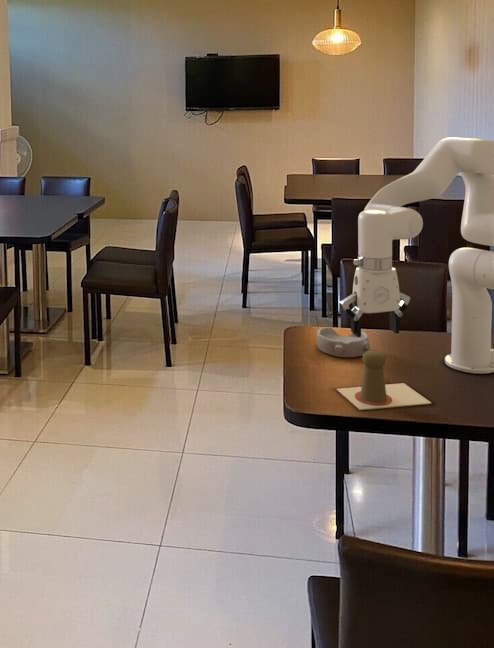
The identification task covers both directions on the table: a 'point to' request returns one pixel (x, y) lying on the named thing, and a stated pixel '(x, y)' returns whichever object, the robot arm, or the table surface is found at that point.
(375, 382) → the cork
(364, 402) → the placemat
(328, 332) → the dish
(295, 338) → the table surface
